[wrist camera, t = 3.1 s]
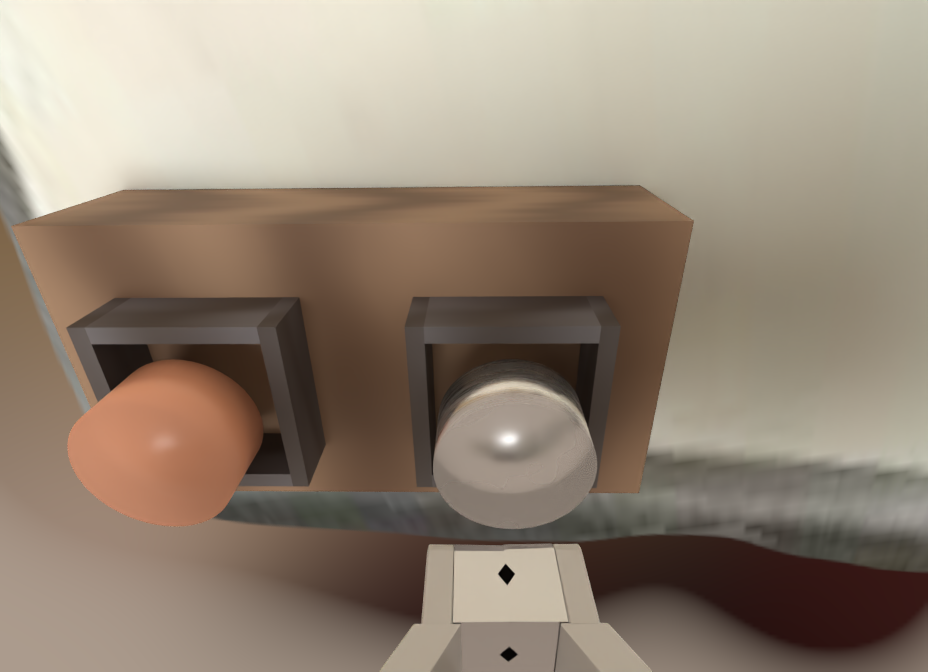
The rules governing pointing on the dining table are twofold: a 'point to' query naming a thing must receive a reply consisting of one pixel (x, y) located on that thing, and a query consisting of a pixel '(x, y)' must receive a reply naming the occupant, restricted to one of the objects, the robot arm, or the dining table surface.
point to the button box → (372, 310)
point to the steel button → (513, 445)
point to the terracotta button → (167, 443)
